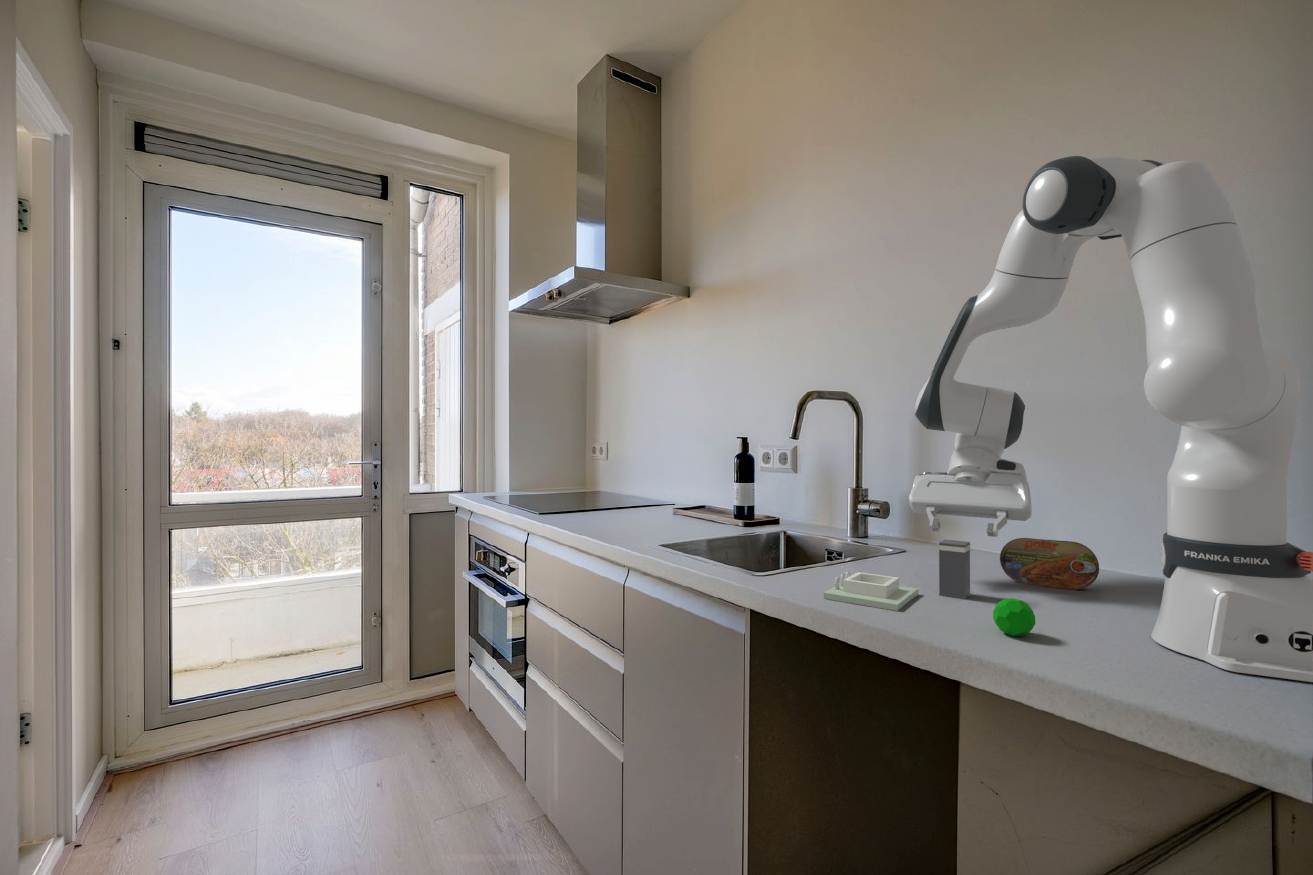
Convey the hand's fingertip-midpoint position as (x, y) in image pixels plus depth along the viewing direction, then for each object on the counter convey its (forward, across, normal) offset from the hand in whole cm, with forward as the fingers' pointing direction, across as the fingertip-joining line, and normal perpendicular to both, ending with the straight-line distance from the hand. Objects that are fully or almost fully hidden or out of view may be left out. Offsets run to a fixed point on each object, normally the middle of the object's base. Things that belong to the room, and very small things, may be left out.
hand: (962, 531), depth 108 cm
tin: (-1, +12, +15) cm, 19 cm away
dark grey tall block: (+11, 0, +3) cm, 12 cm away
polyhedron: (+23, +11, -9) cm, 27 cm away
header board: (+18, -11, -4) cm, 21 cm away
